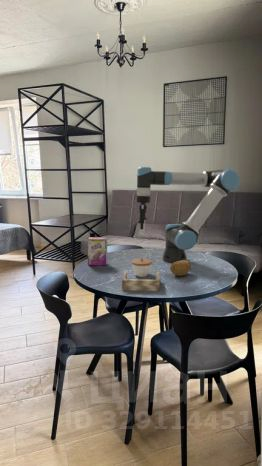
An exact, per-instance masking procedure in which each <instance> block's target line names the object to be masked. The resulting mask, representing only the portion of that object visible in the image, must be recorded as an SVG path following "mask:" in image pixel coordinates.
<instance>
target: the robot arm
mask: <svg viewBox="0 0 262 466" xmlns="http://www.w3.org/2000/svg"><path fill="white" fill-rule="evenodd" d="M136 176H137V177H136V179H137V180H136V189H135V191H136V195H137V196H136V203H140V205H139V207H138V208H139V221H138V222H137V223H138V224H139V225H138V226H139V229H138V235H139V236H144V235H145V232H146V221H147V220H148V219H147V217H146V212H147V208H148V207H147V204H149V203H150V202H151V196H150V195H151V189H152V188H151V186H172V185H173V186H175V185H176V186H177V185H178V186H200V187H202V188H209V190H208V191H207V193H206V194H205V195H204V197H203V198H202V200H201V201H200V203H198V205H197V207H196V208H195V209H194V210H193V212H192V213H191V214H190V216H189V218H188V219H187V220H186V221H183V222H181V223H174V224H173V223H171V224H170V223H169V224H166V226H165V248H164V252H163V254H162V261H163V262H166V263H170V264H173V263H174V262H177V261H181V260H187V261H188V258H187V253H186V251H188V250H192V249H193V248H194V247H195V246H196V243H197V237H198V236H199V234H200V232H199V230H200V229H201V227H202V226H203V225H204V223H206V220H207V219H208V218H209V216H210V215H211V214H212V212H213V211H214V209H215V208H216V207H217V205H219V202H220V201H221V200H222V199H223V198H224V197H228V195H229V194H230V192H231V191H234V190H236V189H237V188H238V187H239V184H240V176H239V174H238V172H237V171H236V170H234V169H228V168H227V169H217V170H207V171H206V170H204V171H202V172H181V171H180V172H179V171H155V170H152V168H151V167H150V166H149V167H148V166H147V167H146V166H139V167H138V168H137V173H136Z"/></svg>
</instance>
